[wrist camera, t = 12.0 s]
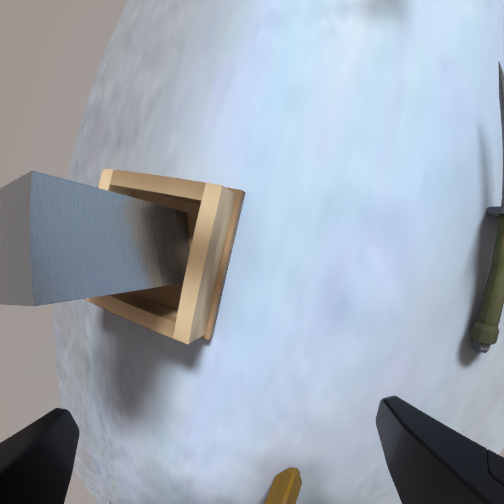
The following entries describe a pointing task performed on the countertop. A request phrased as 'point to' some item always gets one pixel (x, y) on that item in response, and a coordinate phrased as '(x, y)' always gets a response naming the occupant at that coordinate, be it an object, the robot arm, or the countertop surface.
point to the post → (84, 242)
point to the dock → (199, 262)
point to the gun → (285, 487)
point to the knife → (493, 269)
